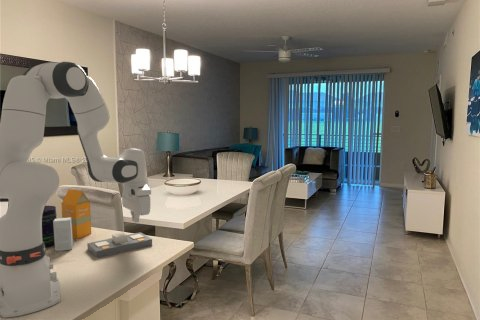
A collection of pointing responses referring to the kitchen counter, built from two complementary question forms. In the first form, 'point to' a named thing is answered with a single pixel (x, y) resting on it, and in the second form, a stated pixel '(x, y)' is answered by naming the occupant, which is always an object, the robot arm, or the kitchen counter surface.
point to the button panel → (119, 246)
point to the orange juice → (77, 212)
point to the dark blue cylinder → (48, 226)
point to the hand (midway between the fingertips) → (135, 221)
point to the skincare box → (63, 234)
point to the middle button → (119, 238)
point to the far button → (136, 236)
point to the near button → (101, 244)
